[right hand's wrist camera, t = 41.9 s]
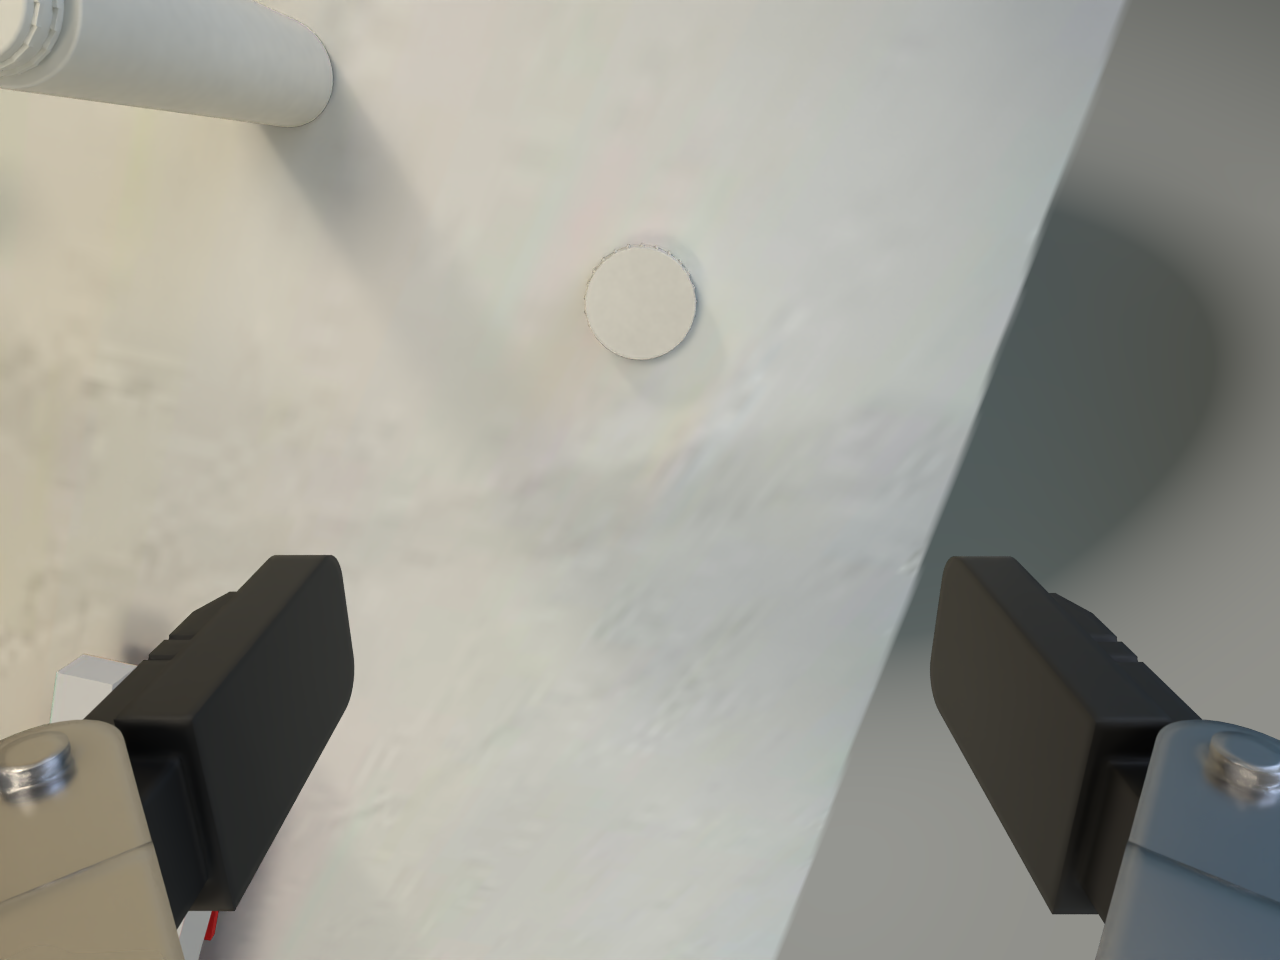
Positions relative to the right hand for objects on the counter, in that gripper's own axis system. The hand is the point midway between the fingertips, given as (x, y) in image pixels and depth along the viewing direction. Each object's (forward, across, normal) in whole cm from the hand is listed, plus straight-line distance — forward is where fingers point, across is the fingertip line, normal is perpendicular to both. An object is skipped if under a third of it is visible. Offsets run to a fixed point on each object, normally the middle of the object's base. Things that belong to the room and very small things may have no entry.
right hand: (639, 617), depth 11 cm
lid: (+28, 0, 0) cm, 28 cm away
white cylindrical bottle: (+30, +15, -10) cm, 35 cm away
